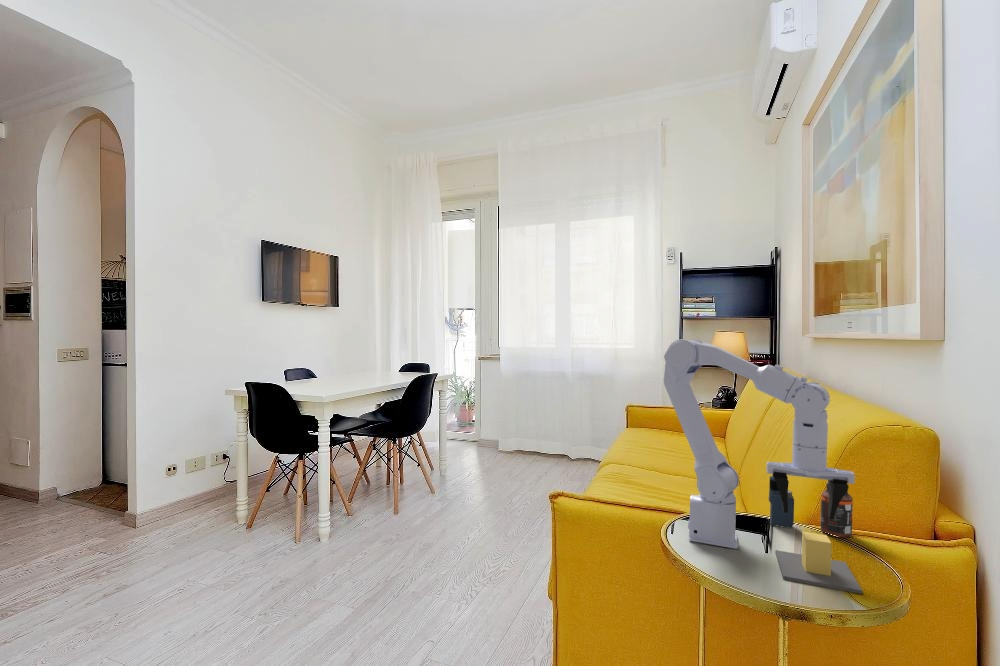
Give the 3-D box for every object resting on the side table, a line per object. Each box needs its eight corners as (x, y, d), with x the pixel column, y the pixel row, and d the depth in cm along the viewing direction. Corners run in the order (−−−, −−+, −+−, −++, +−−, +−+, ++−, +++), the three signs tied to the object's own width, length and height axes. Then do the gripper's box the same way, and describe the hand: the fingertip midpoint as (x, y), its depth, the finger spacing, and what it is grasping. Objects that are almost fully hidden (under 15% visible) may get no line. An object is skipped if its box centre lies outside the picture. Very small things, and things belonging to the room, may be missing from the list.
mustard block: (805, 571, 93) (806, 539, 93) (801, 562, 96) (802, 531, 96) (830, 575, 91) (831, 543, 91) (825, 566, 95) (826, 535, 95)
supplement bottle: (857, 540, 109) (858, 488, 109) (827, 537, 111) (828, 486, 111) (844, 529, 115) (845, 481, 115) (815, 527, 116) (817, 479, 116)
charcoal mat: (783, 579, 91) (783, 575, 91) (775, 552, 102) (775, 550, 102) (862, 594, 86) (862, 590, 86) (845, 564, 97) (845, 561, 97)
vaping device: (767, 521, 119) (768, 471, 119) (792, 525, 117) (793, 474, 117) (768, 525, 117) (769, 474, 117) (794, 529, 115) (795, 477, 115)
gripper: (769, 444, 97) (767, 514, 97) (859, 454, 91) (857, 528, 91) (766, 438, 103) (764, 503, 103) (850, 446, 97) (848, 515, 97)
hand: (807, 514), depth 97 cm, fingers open, 7 cm apart
